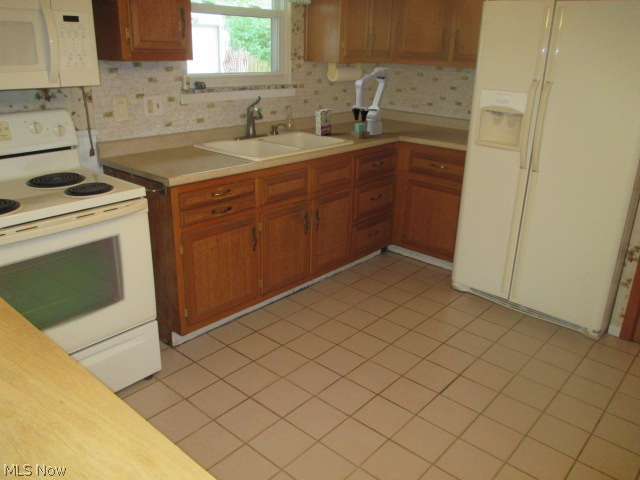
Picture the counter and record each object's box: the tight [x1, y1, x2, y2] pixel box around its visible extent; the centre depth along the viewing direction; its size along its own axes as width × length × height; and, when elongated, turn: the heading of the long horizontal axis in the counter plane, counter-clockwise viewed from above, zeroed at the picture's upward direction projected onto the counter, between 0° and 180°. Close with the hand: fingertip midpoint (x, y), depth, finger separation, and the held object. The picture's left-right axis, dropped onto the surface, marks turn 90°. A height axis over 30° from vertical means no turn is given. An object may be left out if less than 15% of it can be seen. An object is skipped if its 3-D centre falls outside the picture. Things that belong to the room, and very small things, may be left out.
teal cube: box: [354, 122, 367, 132], centre depth 347 cm, size 5×5×5 cm
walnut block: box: [349, 130, 371, 140], centre depth 348 cm, size 9×9×4 cm
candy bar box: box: [315, 108, 332, 136], centre depth 353 cm, size 11×5×16 cm, turn 143°
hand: (359, 120), depth 346 cm, fingers open, 7 cm apart
